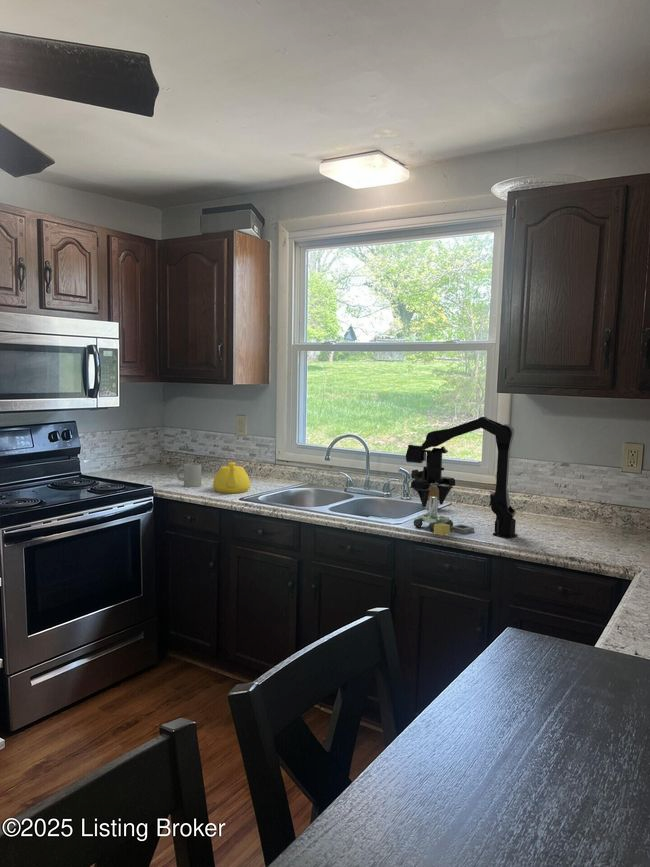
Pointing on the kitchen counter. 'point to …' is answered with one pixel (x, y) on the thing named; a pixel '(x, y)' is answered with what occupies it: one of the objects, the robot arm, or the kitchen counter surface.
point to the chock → (441, 529)
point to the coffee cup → (432, 494)
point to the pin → (433, 507)
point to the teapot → (231, 479)
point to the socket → (462, 529)
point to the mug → (191, 474)
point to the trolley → (432, 521)
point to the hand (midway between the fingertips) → (432, 505)
